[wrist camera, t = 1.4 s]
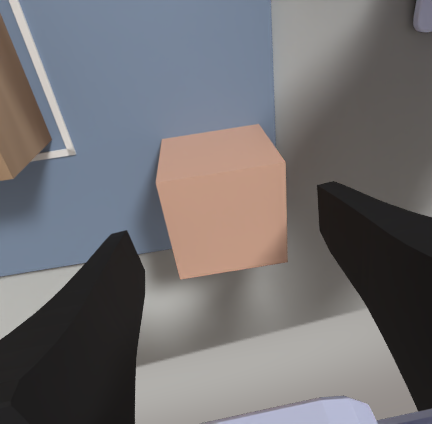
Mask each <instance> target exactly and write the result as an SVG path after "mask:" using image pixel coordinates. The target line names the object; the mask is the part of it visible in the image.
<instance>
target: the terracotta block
mask: <svg viewBox="0 0 432 424" xmlns="http://www.w3.org/2000/svg"><path fill="white" fill-rule="evenodd" d="M156 186H157V190H158V194H159V198H160V202H161V206H162V210H163V214H164V218H165V222H166V226H167V230H168V233H169V237H170V241H171V245H172V249H173V253H174V257H175V261H176V265H177V269H178V273H179V277H180V280H181V279H187V278H193V277H199V276H205V275H211V274H217V273H224V272H230V271H236V270H242V269H248V268H254V267H260V266H267V265H273V264H279V263H285V262H288V260H287V206H286V162H285V161H284V159H283V158H282V156H281V155H280V153H279V152H278V151H277V149H276V148H275V146H274V145H273V143H272V142H271V140H270V139H269V138H268V136H267V135H266V133H265V132H264V130H263V129H262V128H261V126H260V125H259V124H255V125H249V126H242V127H236V128H230V129H223V130H217V131H210V132H204V133H198V134H191V135H185V136H179V137H172V138H166V139H162V141H161V148H160V156H159V163H158V170H157V177H156Z"/></svg>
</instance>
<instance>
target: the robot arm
mask: <svg viewBox="0 0 432 424" xmlns="http://www.w3.org/2000/svg"><path fill="white" fill-rule="evenodd" d="M413 26H414V28H415V29H416V30H417V31H418V32H432V0H416V6H415V13H414V19H413ZM317 191H318V209H319V227H320V232H321V234H322V236H323V238H324V240H325V242H326V244H327V246H328V248H329V250H330V252H331V254H332V255H333V257H334V258H335V260H336V261H337V263H338V264H339V266H340V267H341V269H342V270H343V272H344V273H345V274H346V276H347V277H348V279H349V280H350V282H351V283H352V285H353V286H354V288H355V289H356V291H357V292H358V293H359V295H360V296H361V298H362V300H363V301H364V303H365V304H366V306H367V308H368V310H369V311H370V313H371V315H372V317H373V319H374V321H375V323H376V324H377V326H378V328H379V330H380V332H381V334H382V336H383V338H384V340H385V342H386V344H387V346H388V348H389V350H390V352H391V354H392V356H393V358H394V360H395V362H396V364H397V366H398V368H399V370H400V373H401V375H402V377H403V379H404V381H405V383H406V385H407V387H408V389H409V392H410V394H411V396H412V398H413V400H414V403H415V405H416V407H417V409H418V412H414V413H409V414H405V415H400V416H396V417H391V418H386V419H381V420H376V419H375V417H374V415H373V413H372V411H371V409H370V407H369V405H368V404H366V403H364V402H361V401H358V400H356V399H352V398H349V397H346V396H333V397H320V398H315V399H310V400H306V401H301V402H297V403H292V404H288V405H283V406H278V407H273V408H269V409H264V410H260V411H255V412H250V413H246V414H241V415H237V416H232V417H228V418H224V419H218V420H214V421H209V422H205V423H201V424H432V217H428V216H424V215H421V214H417V213H414V212H411V211H408V210H405V209H402V208H399V207H396V206H393V205H390V204H388V203H385V202H383V201H380V200H378V199H375V198H373V197H370V196H368V195H366V194H363V193H361V192H359V191H356V190H354V189H352V188H349V187H347V186H345V185H342V184H340V183H337V182H334V181H333V182H329V183H324V184H320V185H317ZM144 298H145V270H144V267H143V265H142V263H141V260H140V258H139V256H138V254H137V251H136V249H135V247H134V245H133V242H132V240H131V238H130V235H129V233H128V231H127V230H125V231H121V232H117V233H112V234H111V235H110V236H109V237H108V238H107V239H106V240H105V241H104V242H103V243H102V244H101V246H100V247H99V248H98V249H97V250H96V251H95V253H94V254H93V255H92V256H91V257H90V258H89V260H88V261H87V262H86V263H85V264H84V265H83V267H82V268H81V269H80V270H79V271H78V272H77V273H76V274H75V275H74V276H73V277H72V278H71V279H70V281H69V282H68V283H67V284H66V285H65V286H64V287H63V288H62V289H61V290H60V291H59V292H58V293H57V294H56V295H55V296H54V297H53V298H52V299H51V300H49V301H48V302H47V303H46V304H45V305H44V306H43V307H42V308H40V309H39V310H38V311H37V312H36V313H35V314H33V315H32V316H31V317H30V318H28V319H27V320H26V321H25V322H23V323H22V324H21V325H19V326H18V327H17V328H16V329H14V330H13V331H12V332H11V333H9V334H8V335H6V336H5V337H4V338H2V339H1V340H0V424H135V376H136V356H137V346H138V339H139V333H140V326H141V319H142V312H143V305H144Z"/></svg>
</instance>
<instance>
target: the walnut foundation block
mask: <svg viewBox="0 0 432 424" xmlns="http://www.w3.org/2000/svg"><path fill="white" fill-rule="evenodd" d="M51 140H52V138H51V136H50V133H49V131H48V128H47V126H46V123H45V121H44V119H43V116H42V114H41V111H40V109H39V106H38V104H37V101H36V99H35V97H34V94H33V92H32V89H31V87H30V84H29V82H28V79H27V77H26V75H25V72H24V70H23V67H22V65H21V62H20V60H19V57H18V55H17V53H16V50H15V48H14V45H13V43H12V40H11V38H10V35H9V33H8V31H7V28H6V26H5V23H4V21H3V18H2V16H1V13H0V181H3V180H9V179H14V178H15V177H16V176H17V175H18V174H19V173H20V172H21V171H22V170H23V169H24V168H25V167H26V166H27V165H28V164H29V163H30V162H31V161H32V160H33V159H34V158H35V157H36V155H37V154H38V153H39V152H40V151H41V150H42V149H43V148H44V147H45V146H46V145H47V144H48V143H49V142H50V141H51Z"/></svg>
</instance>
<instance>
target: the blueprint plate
mask: <svg viewBox="0 0 432 424" xmlns="http://www.w3.org/2000/svg"><path fill="white" fill-rule="evenodd" d="M0 13H1V16H2V18H3V21H4V23H5V26H6V28H7V31H8V33H9V35H10V38H11V40H12V43H13V45H14V48H15V50H16V53H17V55H18V57H19V60H20V62H21V65H22V67H23V70H24V72H25V75H26V77H27V79H28V82H29V84H30V87H31V89H32V92H33V94H34V97H35V99H36V101H37V104H38V106H39V109H40V111H41V114H42V116H43V119H44V121H45V123H46V126H47V128H48V131H49V133H50V136H51V138H52V140H51V141H50V142H49V143H48V144H47V145H46V146H45V147H44V148H43V149H42V150H41V151H40V152H39V153H38V154H37V155H36V157H35V158H34V159H33V160H32V161H31V162H30V163H29V164H28V165H27V166H26V167H25V168H24V169H23V170H22V171H21V172H20V173H19V174H18V175H17V176H16V177H15V178H14V179H9V180H3V181H0V276H6V275H13V274H19V273H25V272H31V271H37V270H44V269H50V268H56V267H62V266H68V265H75V264H81V263H86V262H87V261H88V260H89V258H90V257H91V256H92V255H93V254H94V253H95V251H96V250H97V249H98V248H99V247H100V246H101V244H102V243H103V242H104V241H105V240H106V239H107V238H108V237H109V236H110V235H111V234H112V233H117V232H121V231H125V230H127V231H128V233H129V235H130V238H131V240H132V242H133V245H134V247H135V249H136V251H137V254H143V253H149V252H155V251H161V250H167V249H172V245H171V241H170V237H169V233H168V230H167V226H166V222H165V218H164V214H163V210H162V206H161V202H160V198H159V194H158V190H157V186H156V177H157V170H158V163H159V156H160V148H161V141H162V139H166V138H172V137H179V136H185V135H191V134H198V133H204V132H210V131H217V130H223V129H230V128H236V127H242V126H249V125H255V124H259V125H260V126H261V128H262V129H263V130H264V132H265V133H266V135H267V136H268V138H269V139H270V140H271V142H272V143H273V145H274V146H275V148H276V135H275V106H274V77H273V48H272V19H271V0H0Z"/></svg>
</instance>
